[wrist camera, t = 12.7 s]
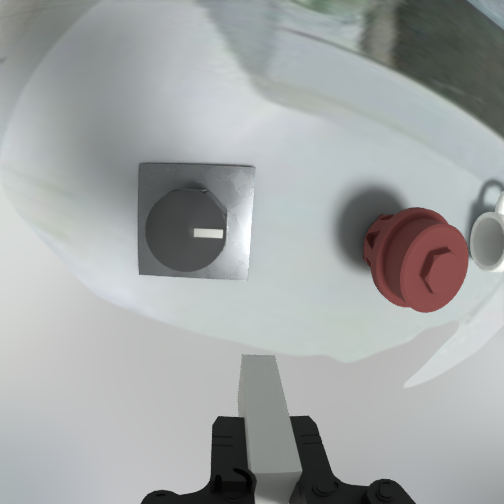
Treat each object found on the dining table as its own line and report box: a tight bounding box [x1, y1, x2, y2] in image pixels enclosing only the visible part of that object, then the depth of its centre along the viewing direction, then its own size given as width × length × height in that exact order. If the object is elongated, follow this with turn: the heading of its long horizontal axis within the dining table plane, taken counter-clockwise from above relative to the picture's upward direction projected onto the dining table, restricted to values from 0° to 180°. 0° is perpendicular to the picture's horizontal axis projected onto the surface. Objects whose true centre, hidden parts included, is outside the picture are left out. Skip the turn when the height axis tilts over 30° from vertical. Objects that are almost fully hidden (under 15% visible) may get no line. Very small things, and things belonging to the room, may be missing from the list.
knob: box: [145, 188, 228, 272], centre depth 28 cm, size 7×7×6 cm
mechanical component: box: [363, 207, 469, 313], centre depth 29 cm, size 12×10×10 cm
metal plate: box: [138, 164, 255, 280], centre depth 30 cm, size 12×12×5 cm
